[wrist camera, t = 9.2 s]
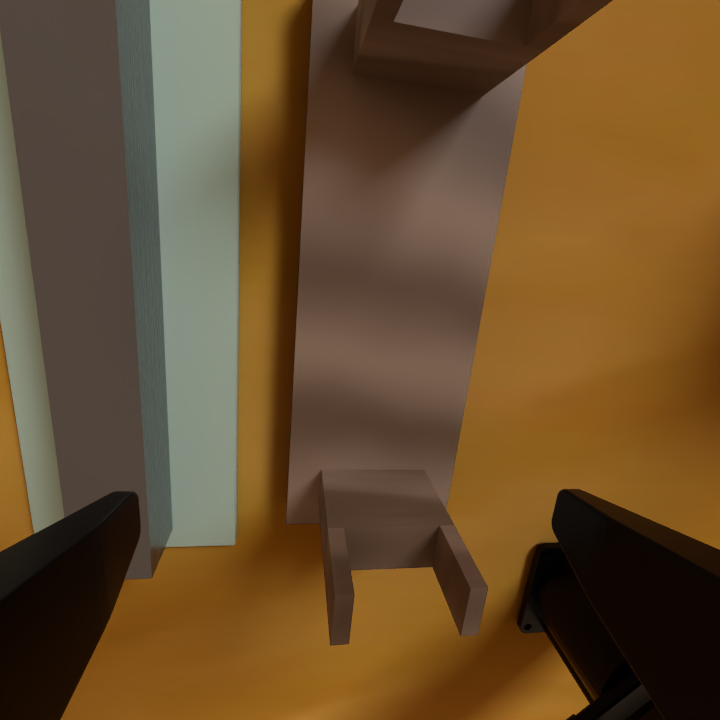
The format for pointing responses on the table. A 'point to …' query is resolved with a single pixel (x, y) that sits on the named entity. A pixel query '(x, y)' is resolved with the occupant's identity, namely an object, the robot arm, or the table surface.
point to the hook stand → (400, 272)
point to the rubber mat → (178, 268)
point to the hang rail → (95, 246)
